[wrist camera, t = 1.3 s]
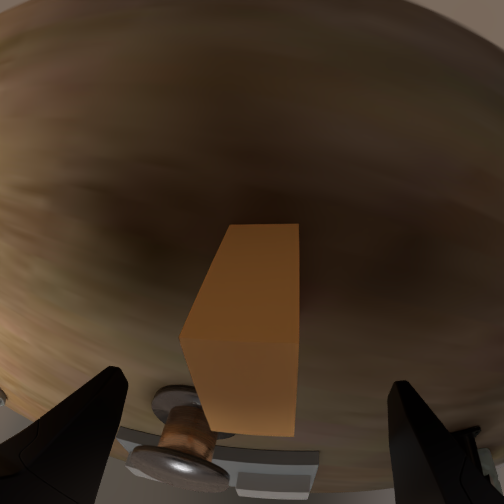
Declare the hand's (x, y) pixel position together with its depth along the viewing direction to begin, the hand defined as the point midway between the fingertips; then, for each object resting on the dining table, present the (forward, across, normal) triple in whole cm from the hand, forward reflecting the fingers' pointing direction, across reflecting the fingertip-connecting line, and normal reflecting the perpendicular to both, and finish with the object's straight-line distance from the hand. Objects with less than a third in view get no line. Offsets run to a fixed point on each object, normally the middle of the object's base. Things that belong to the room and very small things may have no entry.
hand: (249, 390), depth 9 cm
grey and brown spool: (+7, +6, +13) cm, 16 cm away
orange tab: (+7, 0, 0) cm, 7 cm away
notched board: (+7, +6, +24) cm, 26 cm away
